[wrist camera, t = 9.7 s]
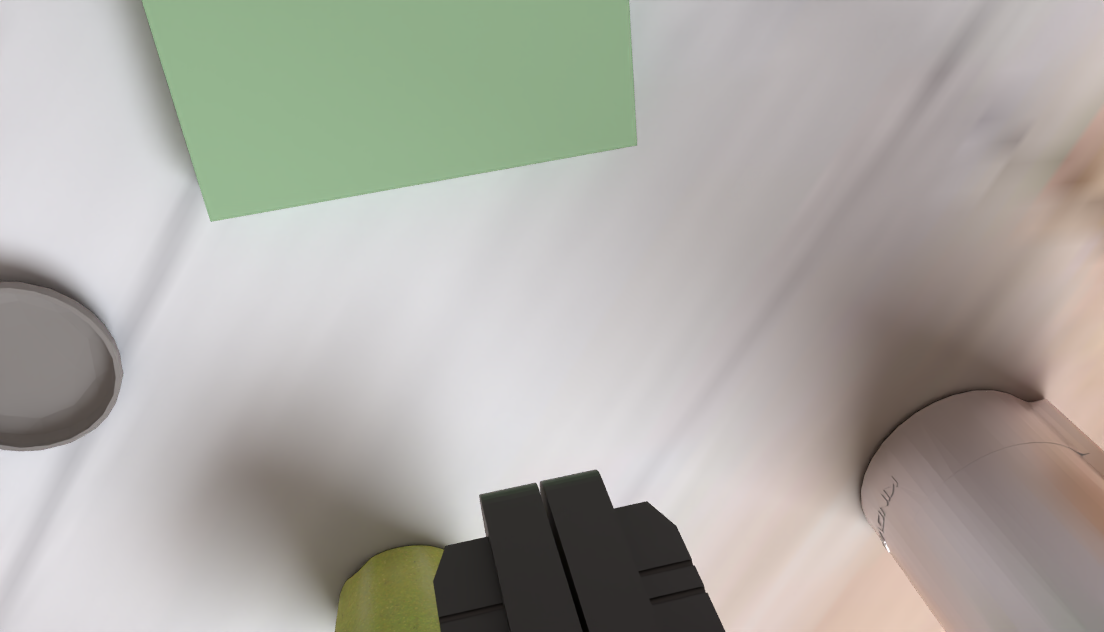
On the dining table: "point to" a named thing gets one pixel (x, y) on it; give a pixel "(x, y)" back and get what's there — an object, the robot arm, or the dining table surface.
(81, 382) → the pocket watch
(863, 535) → the dining table surface
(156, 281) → the dining table surface
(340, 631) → the plant pot
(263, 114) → the green
